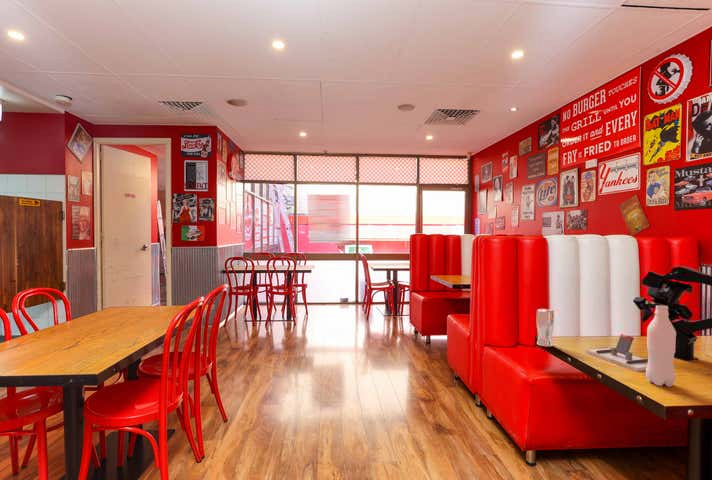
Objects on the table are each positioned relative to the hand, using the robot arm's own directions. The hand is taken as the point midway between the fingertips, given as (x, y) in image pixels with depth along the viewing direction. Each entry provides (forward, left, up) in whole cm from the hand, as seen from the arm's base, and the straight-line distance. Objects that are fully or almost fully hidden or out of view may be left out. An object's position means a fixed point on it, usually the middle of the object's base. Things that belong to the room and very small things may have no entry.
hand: (649, 323), depth 140 cm
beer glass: (+28, -23, -14) cm, 39 cm away
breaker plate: (+14, 0, -14) cm, 20 cm away
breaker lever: (+14, 0, -10) cm, 17 cm away
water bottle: (+23, +20, -14) cm, 33 cm away
